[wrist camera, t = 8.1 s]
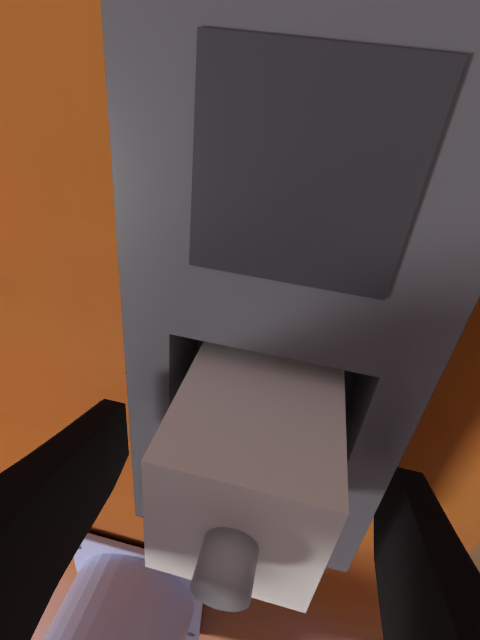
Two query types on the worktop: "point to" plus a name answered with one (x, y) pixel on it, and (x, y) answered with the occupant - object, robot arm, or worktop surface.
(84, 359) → the worktop surface
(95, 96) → the worktop surface
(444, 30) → the power strip
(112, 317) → the worktop surface
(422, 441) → the worktop surface
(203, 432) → the charger block
